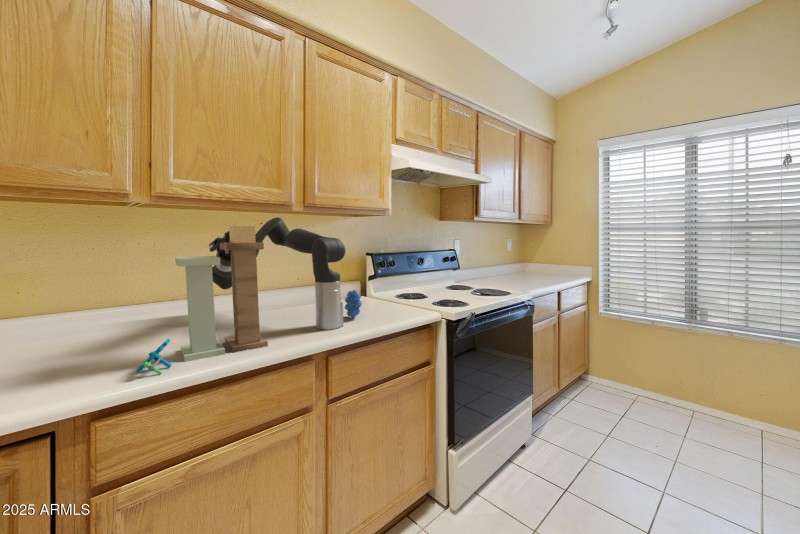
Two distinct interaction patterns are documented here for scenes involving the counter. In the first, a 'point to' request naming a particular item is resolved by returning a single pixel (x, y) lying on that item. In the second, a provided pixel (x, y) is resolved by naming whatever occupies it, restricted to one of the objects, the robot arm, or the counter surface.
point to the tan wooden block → (242, 234)
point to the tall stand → (244, 296)
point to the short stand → (200, 307)
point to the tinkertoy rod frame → (155, 357)
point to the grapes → (353, 303)
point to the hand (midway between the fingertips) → (234, 233)
